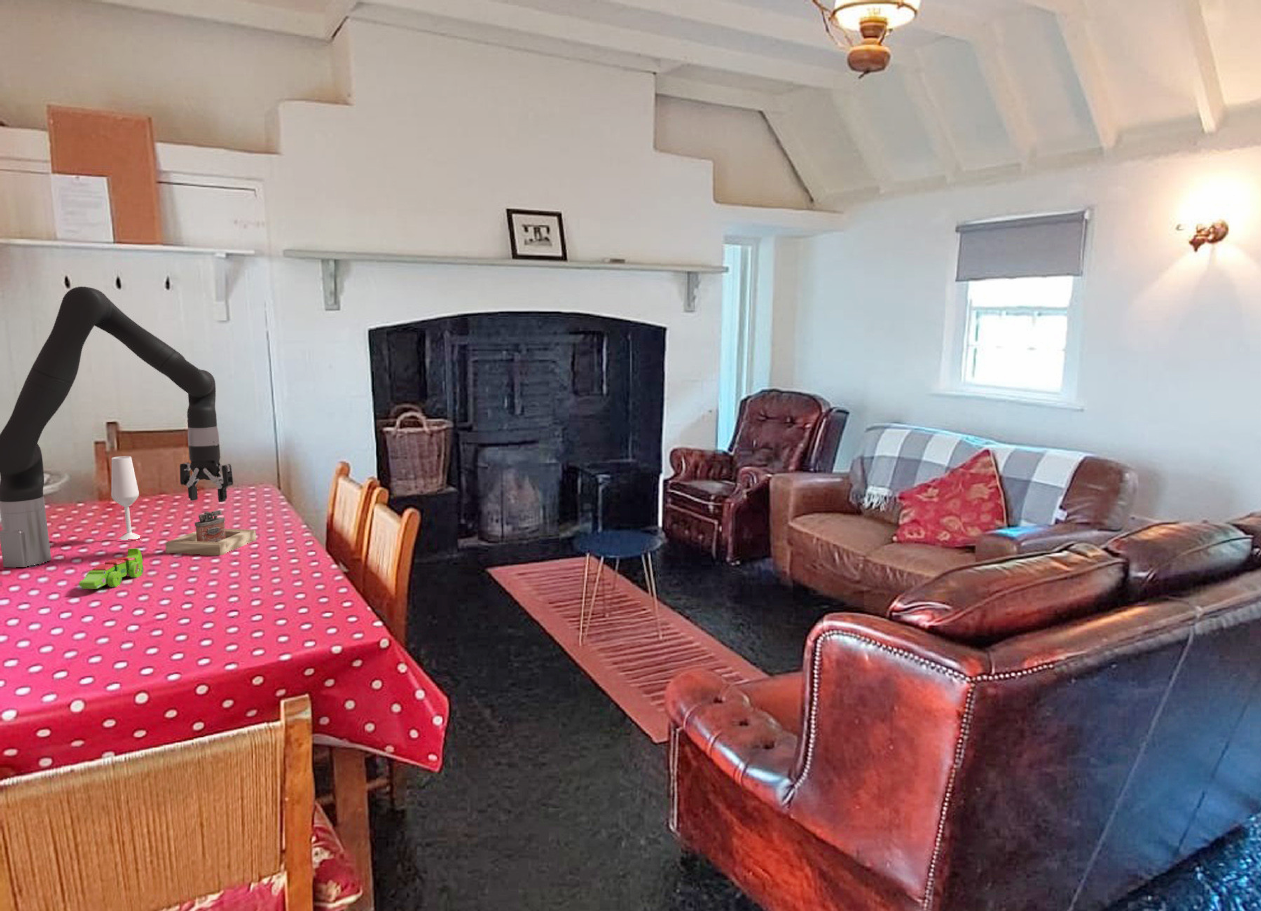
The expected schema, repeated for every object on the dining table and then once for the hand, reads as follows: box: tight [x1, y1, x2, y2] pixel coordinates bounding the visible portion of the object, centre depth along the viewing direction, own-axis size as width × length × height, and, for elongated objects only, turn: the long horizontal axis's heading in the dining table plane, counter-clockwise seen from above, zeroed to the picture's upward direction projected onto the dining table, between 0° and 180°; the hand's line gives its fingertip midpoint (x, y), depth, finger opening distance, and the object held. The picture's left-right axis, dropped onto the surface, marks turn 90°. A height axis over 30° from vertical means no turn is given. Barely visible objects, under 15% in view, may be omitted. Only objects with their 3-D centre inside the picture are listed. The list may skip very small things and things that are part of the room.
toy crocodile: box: [78, 548, 144, 590], centre depth 190 cm, size 20×7×6 cm, turn 177°
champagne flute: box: [110, 455, 141, 540], centre depth 227 cm, size 7×7×24 cm
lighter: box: [194, 509, 226, 542], centre depth 220 cm, size 8×3×10 cm, turn 146°
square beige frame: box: [165, 528, 257, 556], centre depth 221 cm, size 16×16×3 cm
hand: (208, 500), depth 219 cm, fingers open, 8 cm apart
